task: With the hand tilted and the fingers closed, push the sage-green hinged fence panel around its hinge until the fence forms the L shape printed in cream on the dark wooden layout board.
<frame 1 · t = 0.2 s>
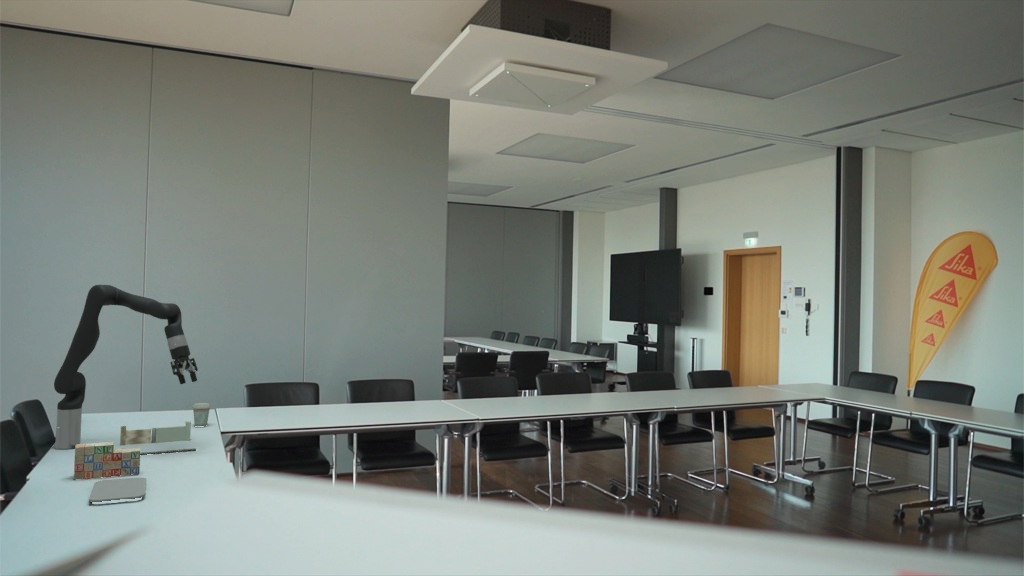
hand: (189, 382, 295), 31 cm above the table, tool tilted 20°, fingers open, 8 cm apart
coffee cup: (200, 426, 358), on the table
stack of blocks: (107, 476, 258), on the table
hinged fence panel: (171, 432, 314), point 6 cm above the table, hinge at 0.0°
layout board: (155, 447, 306), on the table
tablet: (119, 495, 236), on the table
fixed fence panel: (153, 443, 311), resting on layout board
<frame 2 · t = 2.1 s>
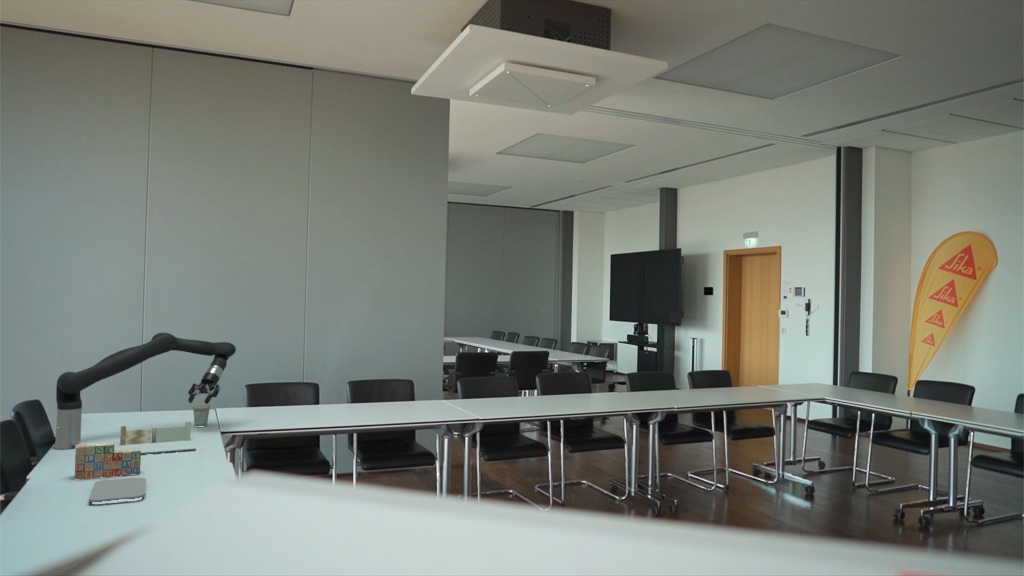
hand: (197, 402, 330), 17 cm above the table, tool tilted 45°, fingers open, 8 cm apart
nothing on the table moved.
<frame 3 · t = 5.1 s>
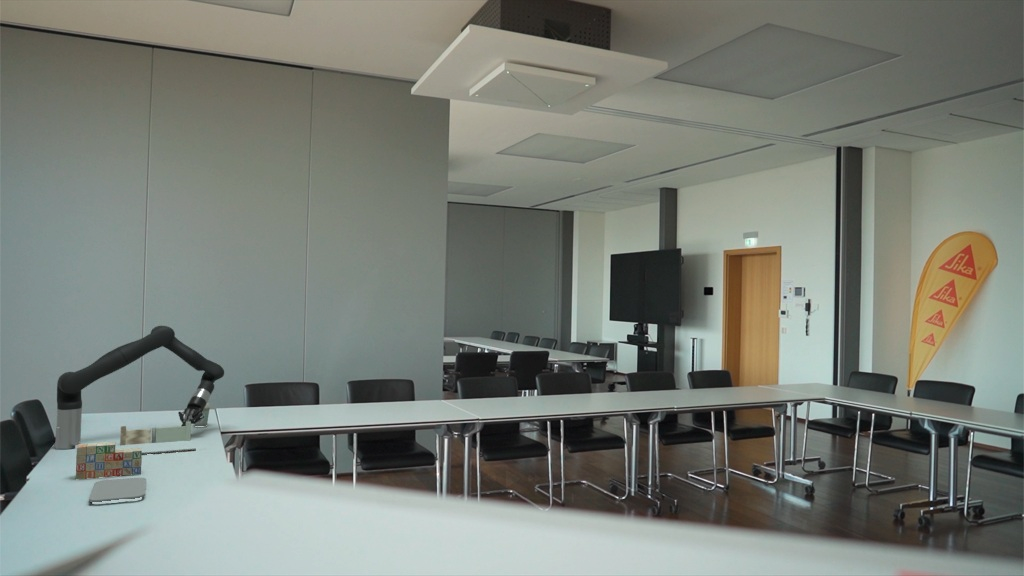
hand: (182, 430, 318), 6 cm above the table, tool tilted 45°, fingers closed
hinged fence panel: (171, 432, 314), point 6 cm above the table, hinge at 1.3°, touching gripper
everything else where it was.
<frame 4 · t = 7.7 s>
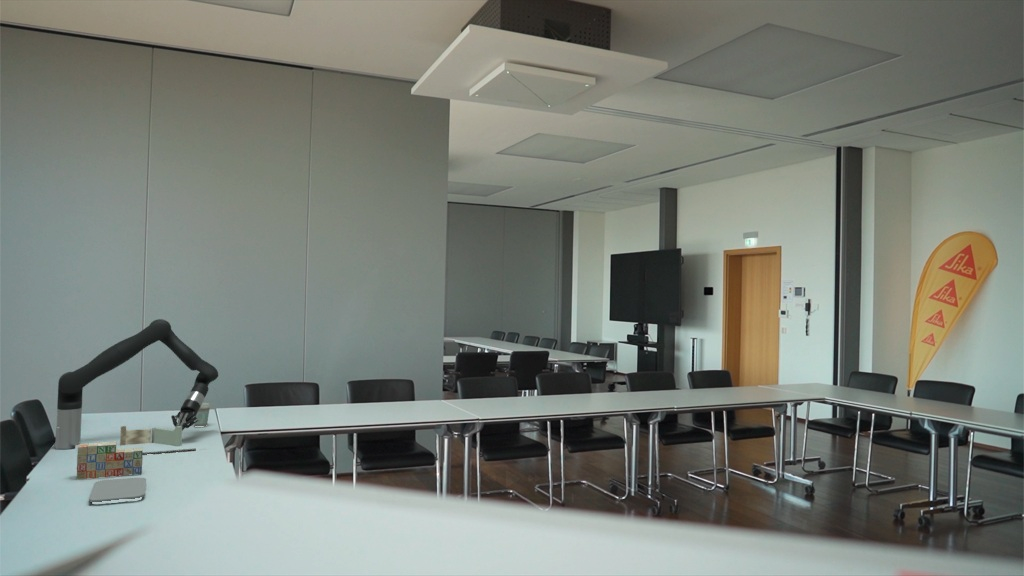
hand: (176, 434, 308), 6 cm above the table, tool tilted 45°, fingers closed
hinged fence panel: (166, 434, 308), point 6 cm above the table, hinge at 50.5°, touching gripper
everything else where it was.
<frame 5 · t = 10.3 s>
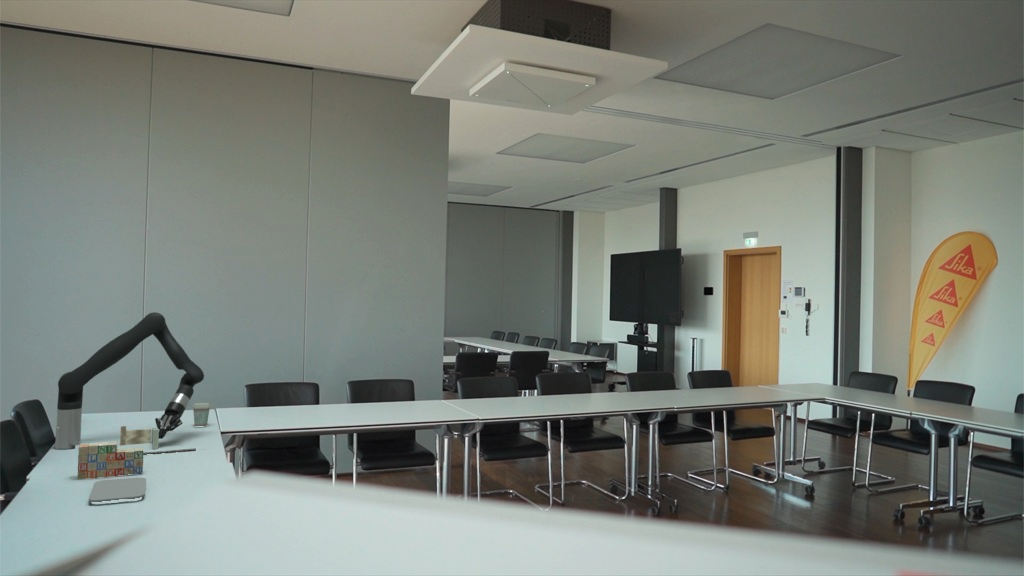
hand: (159, 437, 301), 6 cm above the table, tool tilted 45°, fingers closed
hinged fence panel: (154, 436, 304), point 6 cm above the table, hinge at 90.9°, touching gripper
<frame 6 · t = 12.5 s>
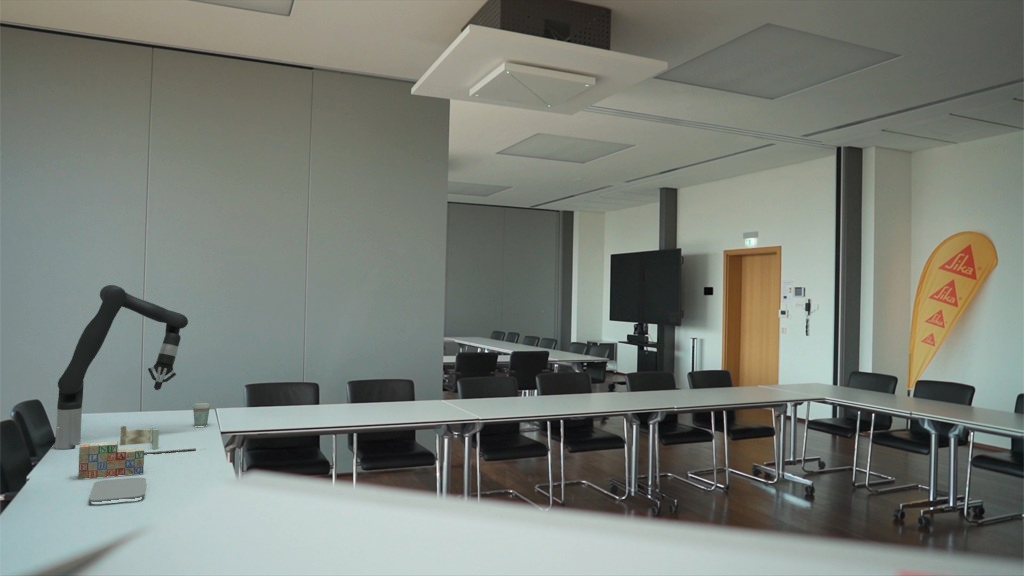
hand: (156, 389, 322), 24 cm above the table, tool tilted 15°, fingers closed
hinged fence panel: (154, 436, 304), point 6 cm above the table, hinge at 90.9°
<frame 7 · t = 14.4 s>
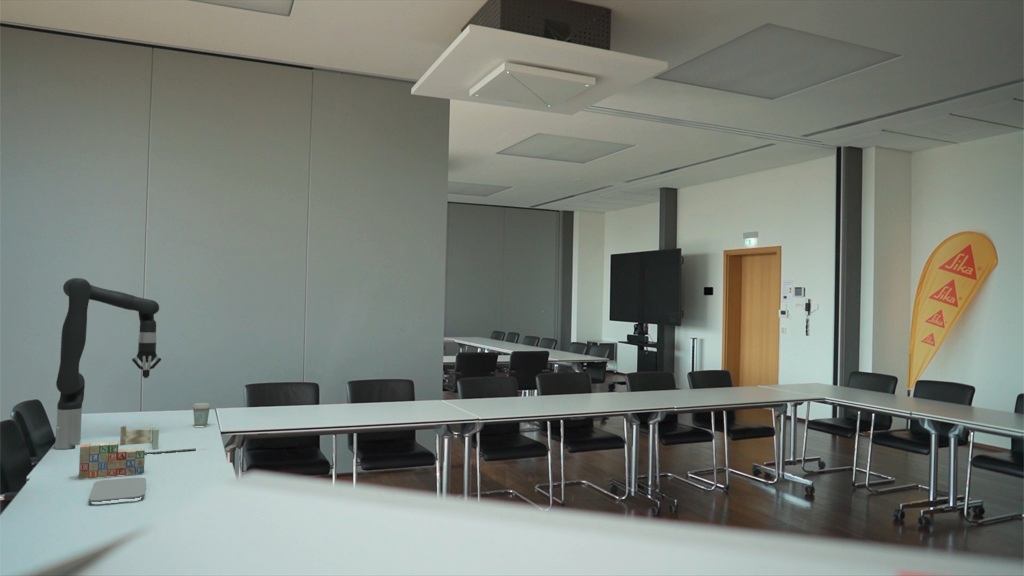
hand: (145, 377, 325), 29 cm above the table, tool pointing down, fingers closed
at the end: hinged fence panel at +91° (first picture: +0°) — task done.
